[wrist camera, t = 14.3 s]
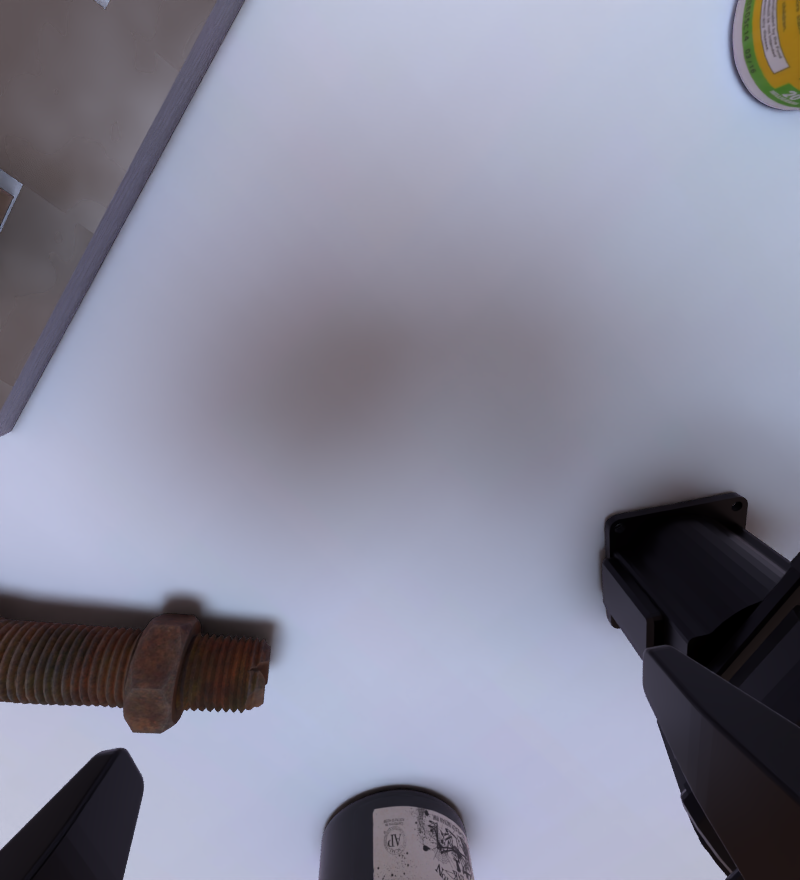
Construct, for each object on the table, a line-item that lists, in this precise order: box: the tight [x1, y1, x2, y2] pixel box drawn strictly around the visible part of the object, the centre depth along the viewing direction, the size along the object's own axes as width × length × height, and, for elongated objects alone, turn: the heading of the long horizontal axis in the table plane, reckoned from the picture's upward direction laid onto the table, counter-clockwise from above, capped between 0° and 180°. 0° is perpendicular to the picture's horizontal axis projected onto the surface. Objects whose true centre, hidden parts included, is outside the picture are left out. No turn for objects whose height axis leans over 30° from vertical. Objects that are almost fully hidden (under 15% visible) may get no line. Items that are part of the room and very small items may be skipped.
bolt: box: [0, 613, 271, 733], centre depth 21 cm, size 6×5×15 cm
